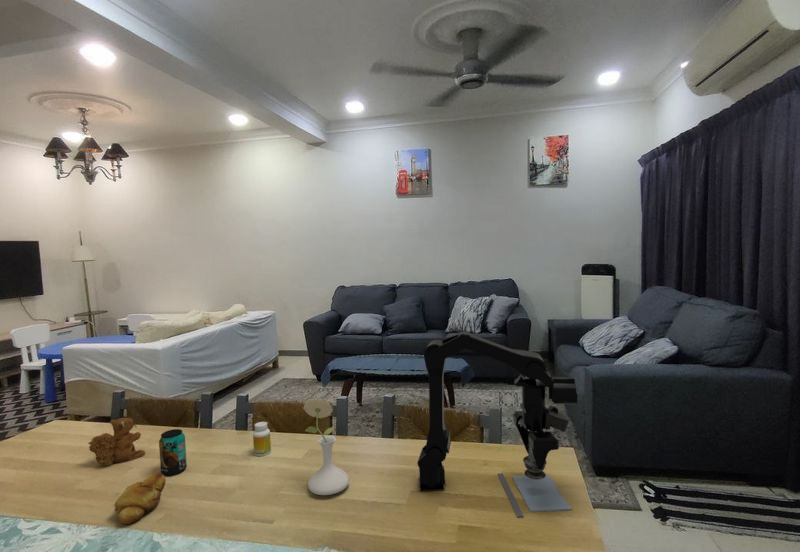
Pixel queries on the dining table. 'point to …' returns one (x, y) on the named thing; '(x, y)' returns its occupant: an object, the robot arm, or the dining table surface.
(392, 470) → the dining table surface
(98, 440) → the stuffed squirrel
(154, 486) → the bread roll
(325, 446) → the flower in vase
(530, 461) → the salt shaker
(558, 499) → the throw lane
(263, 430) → the supplement bottle
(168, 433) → the beverage can
